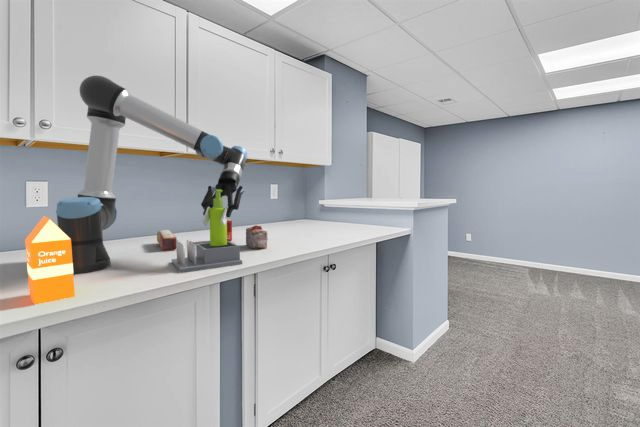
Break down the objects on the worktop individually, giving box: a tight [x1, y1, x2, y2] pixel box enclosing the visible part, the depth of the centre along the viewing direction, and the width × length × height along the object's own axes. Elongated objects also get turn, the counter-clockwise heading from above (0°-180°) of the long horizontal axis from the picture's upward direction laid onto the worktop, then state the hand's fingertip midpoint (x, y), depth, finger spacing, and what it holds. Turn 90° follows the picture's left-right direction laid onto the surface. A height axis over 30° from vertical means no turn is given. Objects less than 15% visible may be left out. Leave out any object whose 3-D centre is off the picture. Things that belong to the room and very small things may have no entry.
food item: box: [245, 224, 269, 250], centre depth 142 cm, size 14×8×10 cm, turn 30°
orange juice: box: [24, 215, 76, 305], centre depth 79 cm, size 8×9×20 cm
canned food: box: [227, 217, 233, 242], centre depth 157 cm, size 8×8×11 cm
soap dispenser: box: [209, 189, 227, 246], centre depth 114 cm, size 6×7×20 cm
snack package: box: [156, 229, 178, 252], centre depth 142 cm, size 21×7×7 cm, turn 31°
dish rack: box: [171, 239, 243, 274], centre depth 113 cm, size 20×16×8 cm
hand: (213, 223), depth 110 cm, fingers closed on soap dispenser, 6 cm apart
